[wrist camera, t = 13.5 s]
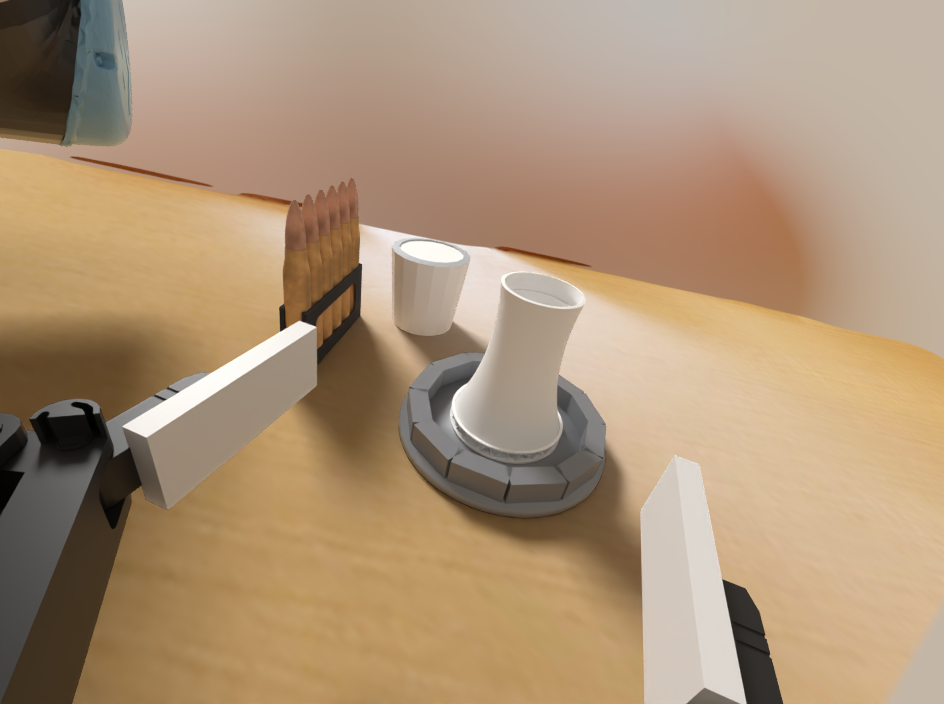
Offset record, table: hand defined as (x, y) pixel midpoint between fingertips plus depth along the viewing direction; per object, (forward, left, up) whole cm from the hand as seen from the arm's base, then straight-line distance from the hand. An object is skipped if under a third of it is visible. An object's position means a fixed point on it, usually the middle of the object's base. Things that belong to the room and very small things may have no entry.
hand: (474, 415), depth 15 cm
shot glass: (-11, +22, -10) cm, 26 cm away
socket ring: (0, +11, -9) cm, 14 cm away
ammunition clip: (-16, +14, -10) cm, 23 cm away
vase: (0, +11, -9) cm, 14 cm away
